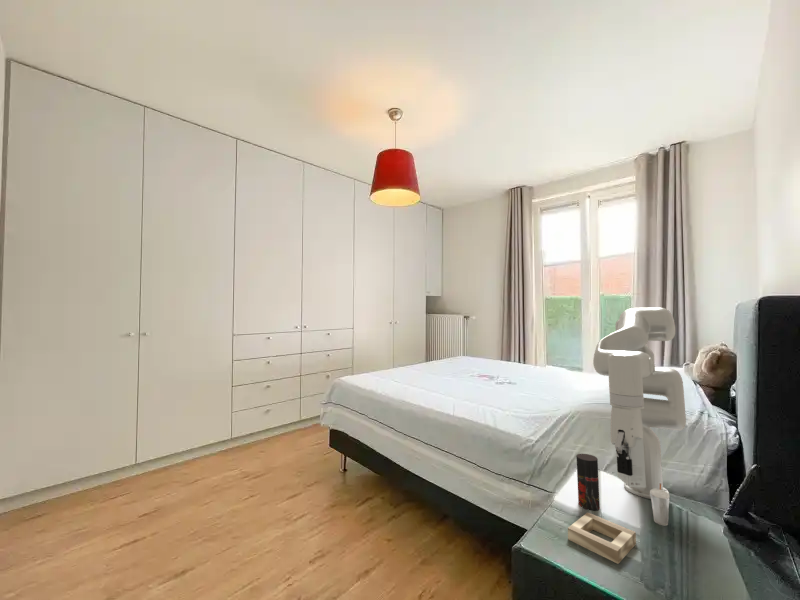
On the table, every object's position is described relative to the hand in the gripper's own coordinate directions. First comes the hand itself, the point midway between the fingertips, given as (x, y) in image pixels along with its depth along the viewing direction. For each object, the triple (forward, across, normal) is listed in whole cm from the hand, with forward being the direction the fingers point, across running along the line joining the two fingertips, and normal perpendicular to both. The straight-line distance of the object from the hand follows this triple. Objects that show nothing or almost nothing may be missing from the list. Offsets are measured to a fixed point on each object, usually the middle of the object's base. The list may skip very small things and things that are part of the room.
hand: (630, 469), depth 89 cm
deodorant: (+20, -13, -16) cm, 29 cm away
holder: (+20, +3, -6) cm, 21 cm away
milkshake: (+20, -19, +1) cm, 28 cm away
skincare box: (+4, 0, 0) cm, 4 cm away
